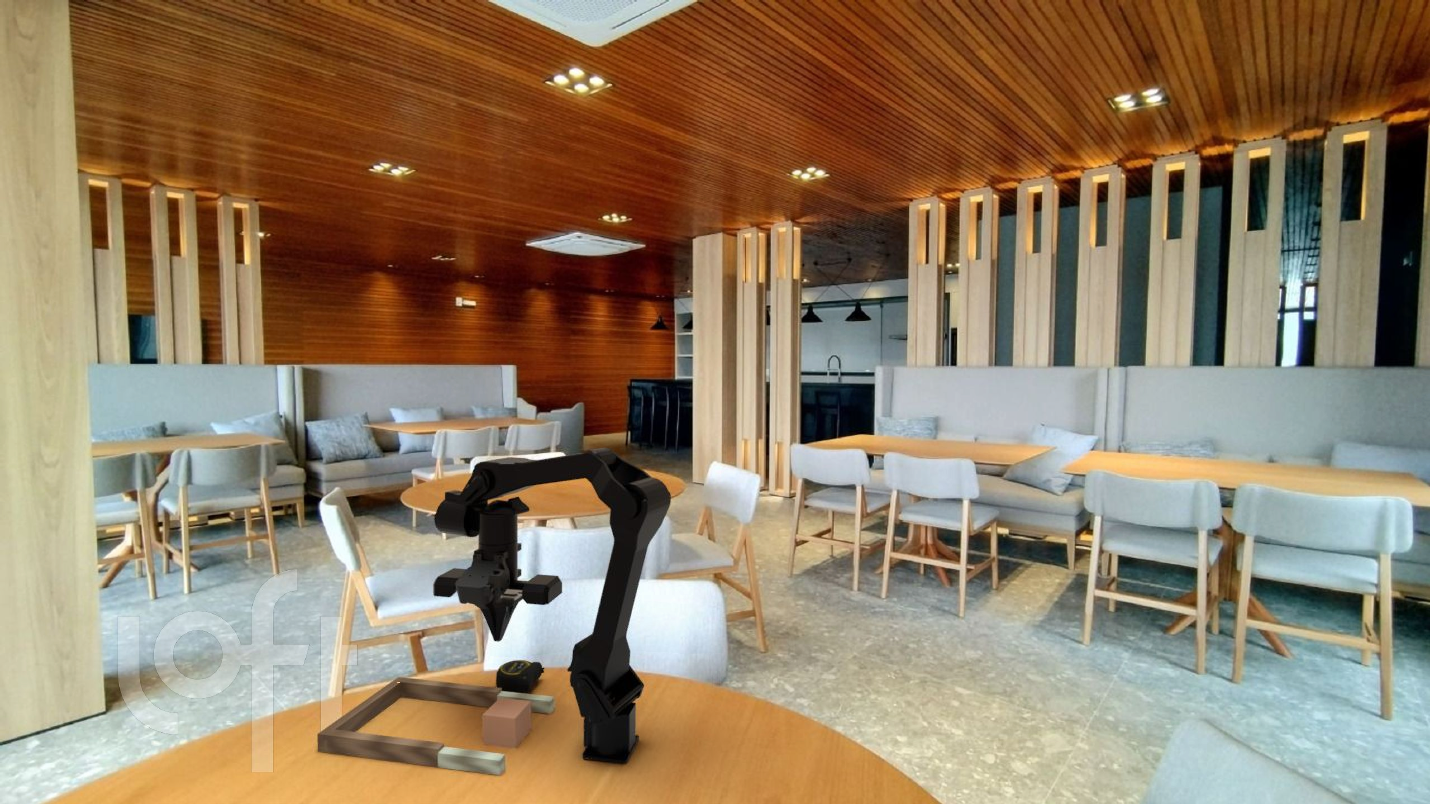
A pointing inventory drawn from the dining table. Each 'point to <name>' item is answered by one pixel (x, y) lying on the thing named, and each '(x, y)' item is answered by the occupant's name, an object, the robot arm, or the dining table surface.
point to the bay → (420, 752)
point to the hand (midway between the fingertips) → (498, 640)
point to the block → (506, 723)
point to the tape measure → (518, 676)
